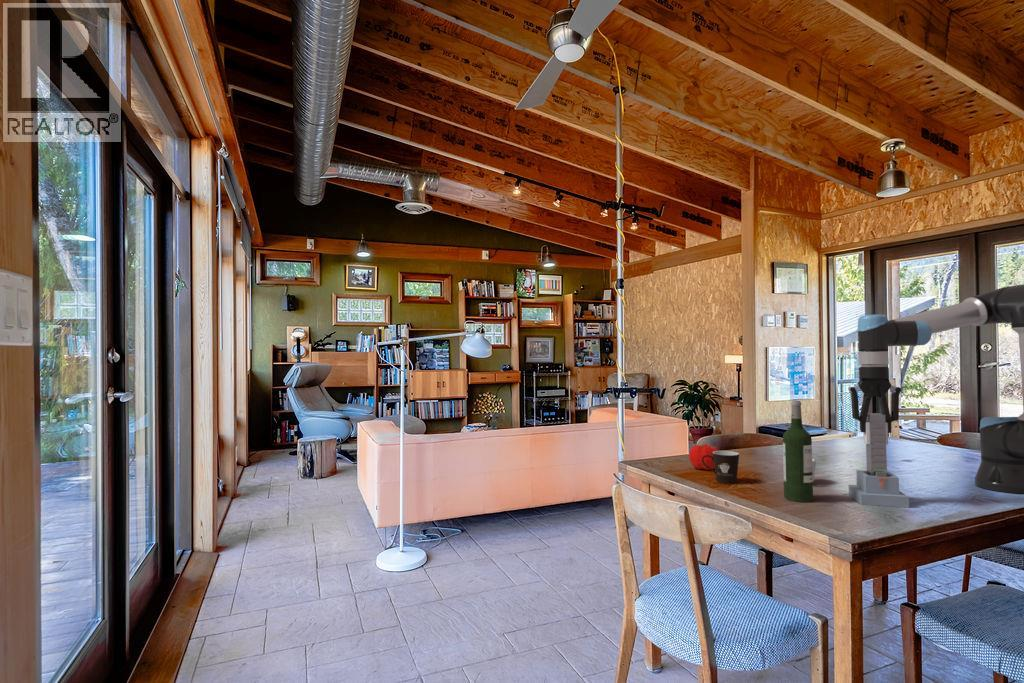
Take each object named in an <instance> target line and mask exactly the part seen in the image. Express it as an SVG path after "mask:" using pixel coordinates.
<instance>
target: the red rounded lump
mask: <svg viewBox="0 0 1024 683" xmlns="http://www.w3.org/2000/svg"><path fill="white" fill-rule="evenodd" d="M714 451H720V450H719V449H718V448H717V447H715V446H710V445H709V444H706V443H703V444H697V445H694V446H693V447H692V448H691V449H690V451H689V455H688V458H689V462H690V463H691V466H692V467H694V468H695V469H698V470H700V469H702V470H706V471H711V470H710V469H708V468H707V467H706V466H705V465H704V464H703V462H702V458H703V456H705V455H710V456H712V457H713V452H714ZM704 463H705V464H706V465H707V466H708V467H710V468H711V469H713V470H715V466H714V462H713V460H712V459H711V458H710V457H705V458H704Z"/></svg>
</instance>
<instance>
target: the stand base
mask: <svg viewBox="0 0 1024 683" xmlns="http://www.w3.org/2000/svg"><path fill="white" fill-rule="evenodd" d="M855 475H856V484H848V485H847V487H848V495H849V496H850V497H851V498H852V499H854V500H855V501H857V503H858V504H860V505H863V506H877V507H880V506H881V507H895V508H910V496H909V495H907V494H905V493H903V492H902V491H901V490H900V480H899V478H900V477H898V476H897V475H895V474H893V473H891V472H889V471H888V470H887V476H886V472H876V476H869V475H867V470H865V469H864V470H862V469H861V470H860V469H856V474H855Z"/></svg>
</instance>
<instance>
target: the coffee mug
mask: <svg viewBox="0 0 1024 683" xmlns="http://www.w3.org/2000/svg"><path fill="white" fill-rule="evenodd" d="M705 457H710V458H711V459H712V460H713V462H714V466H715V468H714V469H711V468H710V467H708V466H707V465H706V464H705V463H704V458H705ZM739 460H740V453H739V452H736V451H731V450H719V451H714V452H713V457H712V456H710V455H705V456H703V458H702V462H703V464H704V465H705V466H706V467H707V468H708V469H710V470H709V471H710V472H713V473H714V474H715V478H716V482H717V483H719V484H721V485H722V484H723V485H724V484H725V485H735V484H737V483H738V482H737V480H738V470H739ZM734 483H735V484H734Z"/></svg>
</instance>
